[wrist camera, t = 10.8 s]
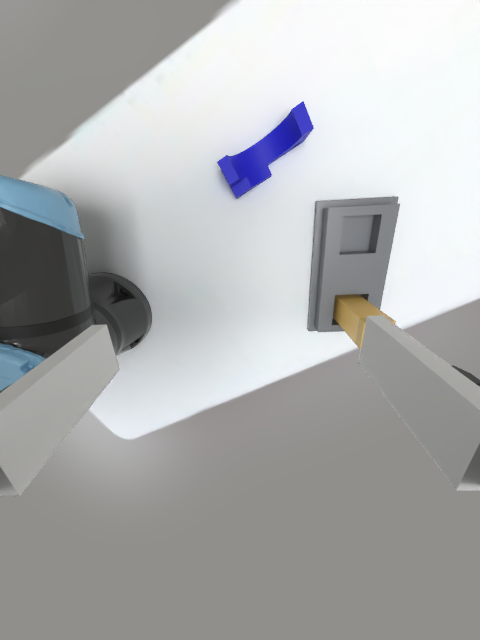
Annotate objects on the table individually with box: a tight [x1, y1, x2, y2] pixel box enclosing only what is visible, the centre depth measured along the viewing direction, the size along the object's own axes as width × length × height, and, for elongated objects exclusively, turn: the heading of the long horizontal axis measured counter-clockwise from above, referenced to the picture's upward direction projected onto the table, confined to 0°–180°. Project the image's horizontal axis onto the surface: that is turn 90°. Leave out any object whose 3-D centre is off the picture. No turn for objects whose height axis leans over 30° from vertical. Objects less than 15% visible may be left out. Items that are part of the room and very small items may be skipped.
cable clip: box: [217, 102, 313, 198], centre depth 33 cm, size 12×4×6 cm, turn 120°
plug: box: [333, 294, 396, 349], centre depth 38 cm, size 4×4×12 cm
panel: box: [308, 197, 400, 332], centre depth 41 cm, size 12×22×4 cm, turn 3°
